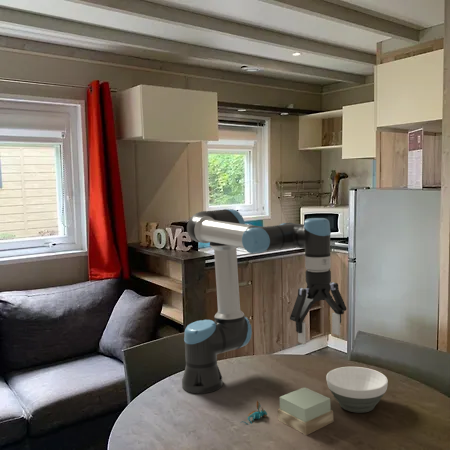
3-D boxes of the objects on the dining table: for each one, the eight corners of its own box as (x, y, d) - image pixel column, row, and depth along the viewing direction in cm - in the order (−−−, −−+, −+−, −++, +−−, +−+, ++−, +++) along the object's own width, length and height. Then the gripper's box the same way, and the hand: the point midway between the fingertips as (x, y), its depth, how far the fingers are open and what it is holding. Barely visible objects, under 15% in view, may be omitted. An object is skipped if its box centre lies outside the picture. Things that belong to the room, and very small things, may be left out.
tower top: (279, 409, 152) (279, 396, 151) (304, 398, 158) (304, 387, 158) (305, 422, 143) (304, 409, 142) (330, 411, 149) (330, 398, 149)
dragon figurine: (265, 426, 147) (271, 405, 154) (242, 416, 148) (249, 396, 155) (259, 438, 151) (265, 417, 157) (237, 428, 152) (244, 408, 158)
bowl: (391, 397, 164) (391, 370, 163) (384, 424, 146) (383, 394, 146) (333, 389, 172) (333, 363, 172) (320, 414, 155) (319, 385, 154)
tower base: (278, 421, 152) (277, 409, 152) (304, 409, 159) (304, 397, 159) (306, 436, 142) (305, 423, 142) (333, 423, 150) (333, 410, 149)
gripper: (292, 277, 136) (294, 350, 138) (357, 266, 148) (358, 333, 150) (276, 273, 142) (278, 343, 144) (340, 263, 155) (341, 327, 157)
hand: (319, 338), depth 147 cm, fingers open, 13 cm apart
